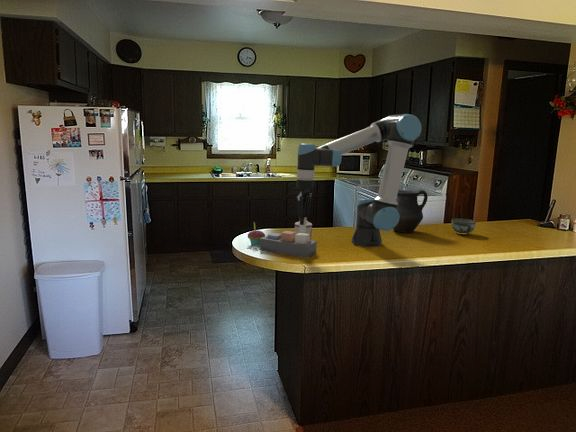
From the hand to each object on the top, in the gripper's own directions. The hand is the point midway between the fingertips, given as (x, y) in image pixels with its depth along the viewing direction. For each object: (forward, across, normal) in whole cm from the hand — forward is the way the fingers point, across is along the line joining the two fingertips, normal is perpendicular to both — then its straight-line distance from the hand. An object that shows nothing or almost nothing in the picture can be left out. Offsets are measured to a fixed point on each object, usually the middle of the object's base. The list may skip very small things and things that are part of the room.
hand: (302, 231), depth 197 cm
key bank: (+10, 0, -7) cm, 12 cm away
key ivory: (+6, 0, 0) cm, 6 cm away
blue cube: (+8, 0, -14) cm, 16 cm away
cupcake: (+11, -2, -25) cm, 27 cm away
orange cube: (+6, 0, -7) cm, 9 cm away
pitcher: (+10, -78, +31) cm, 85 cm away
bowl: (+10, -91, +62) cm, 110 cm away
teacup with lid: (+11, -23, -10) cm, 27 cm away
